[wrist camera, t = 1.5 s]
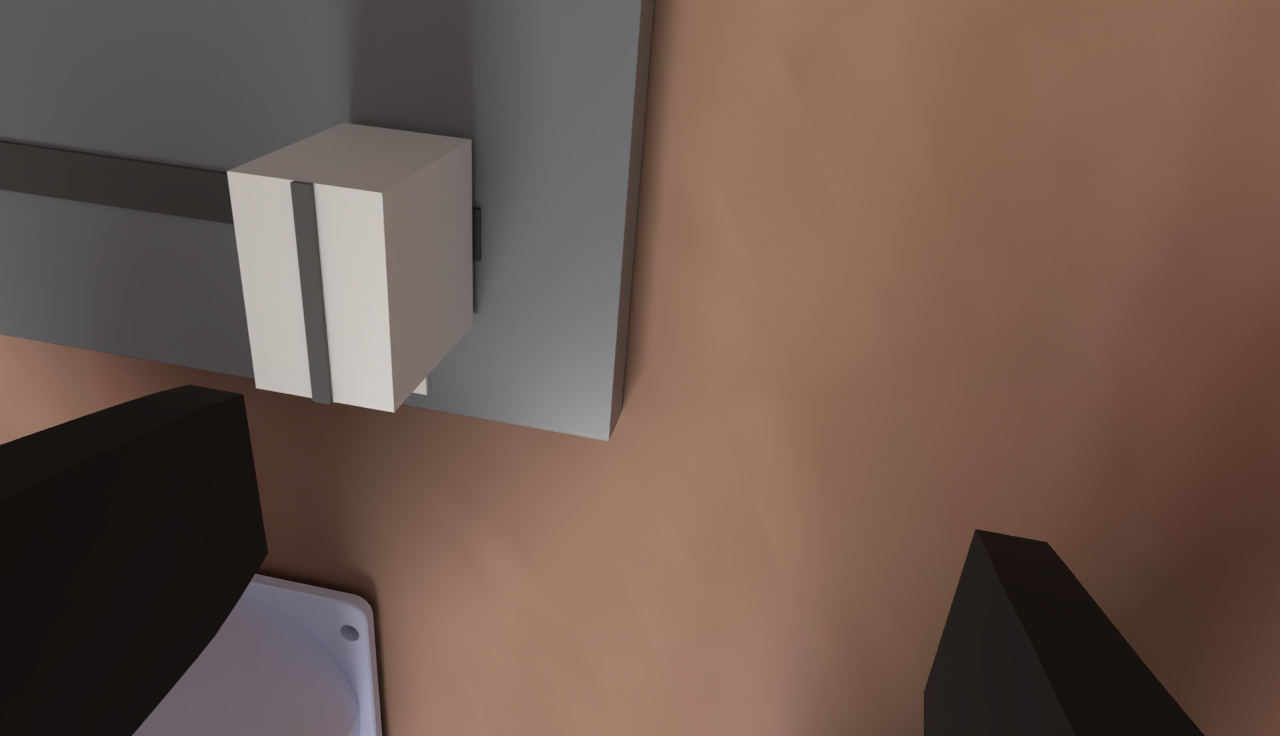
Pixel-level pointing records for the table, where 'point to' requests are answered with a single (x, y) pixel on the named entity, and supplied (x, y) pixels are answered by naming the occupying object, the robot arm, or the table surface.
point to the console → (297, 109)
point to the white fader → (355, 261)
